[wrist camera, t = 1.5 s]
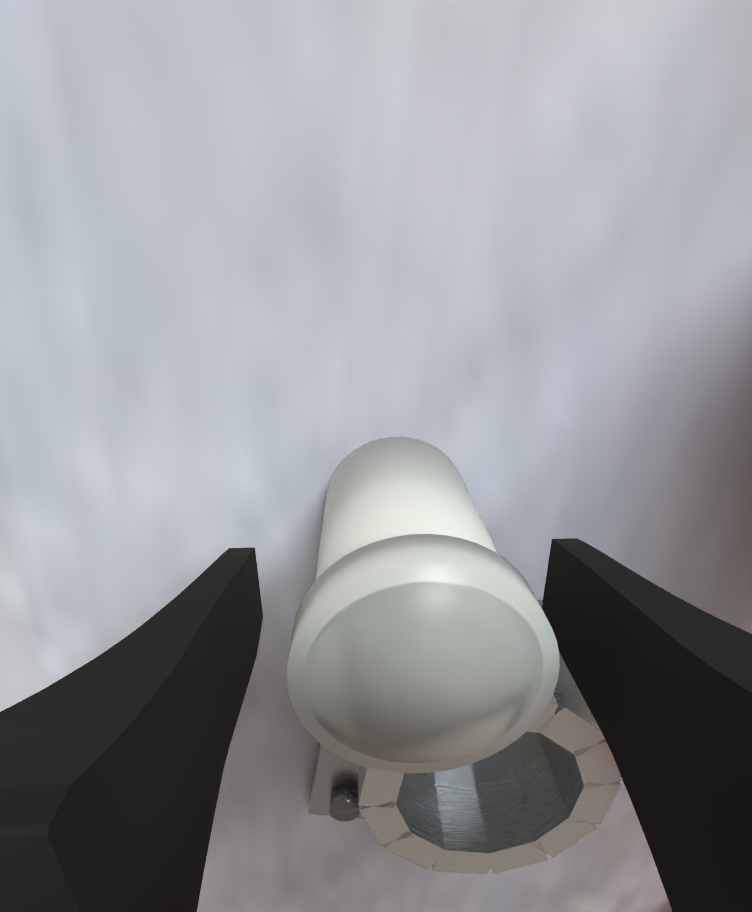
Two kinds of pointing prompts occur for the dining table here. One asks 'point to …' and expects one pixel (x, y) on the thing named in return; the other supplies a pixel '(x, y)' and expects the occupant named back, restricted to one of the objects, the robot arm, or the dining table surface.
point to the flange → (485, 795)
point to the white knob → (415, 621)
